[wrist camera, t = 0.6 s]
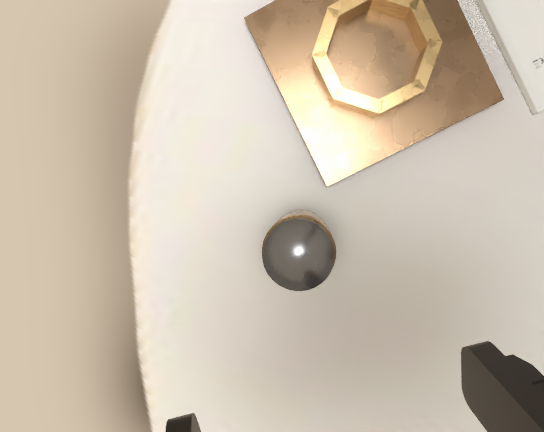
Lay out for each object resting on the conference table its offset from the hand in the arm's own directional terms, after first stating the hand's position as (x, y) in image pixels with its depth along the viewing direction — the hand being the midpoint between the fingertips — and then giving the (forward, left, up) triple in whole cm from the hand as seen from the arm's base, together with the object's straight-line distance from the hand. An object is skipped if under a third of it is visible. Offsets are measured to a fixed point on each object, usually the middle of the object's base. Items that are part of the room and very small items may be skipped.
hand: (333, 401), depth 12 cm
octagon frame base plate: (-11, -13, -26) cm, 31 cm away
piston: (+1, -2, -26) cm, 26 cm away
